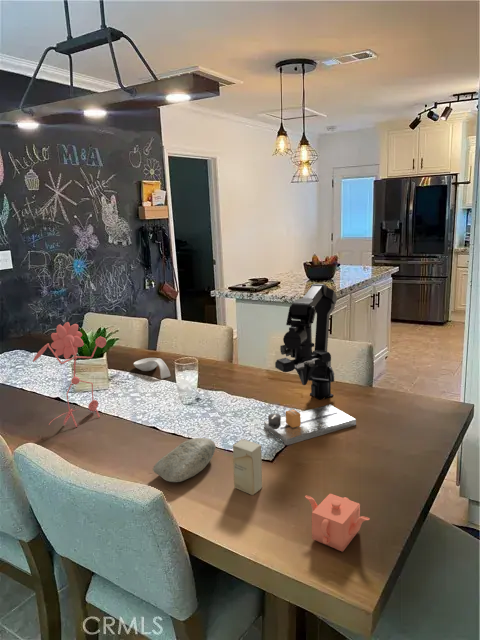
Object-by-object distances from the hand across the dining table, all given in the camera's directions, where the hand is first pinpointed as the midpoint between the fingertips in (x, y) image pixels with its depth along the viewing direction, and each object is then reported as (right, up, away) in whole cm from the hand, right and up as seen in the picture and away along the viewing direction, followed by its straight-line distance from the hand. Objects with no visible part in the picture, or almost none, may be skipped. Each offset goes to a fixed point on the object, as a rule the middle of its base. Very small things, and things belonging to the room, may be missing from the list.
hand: (304, 384), depth 160 cm
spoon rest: (-60, -2, +56) cm, 83 cm away
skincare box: (-19, -22, -37) cm, 47 cm away
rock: (-36, -20, -27) cm, 49 cm away
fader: (-4, -12, -8) cm, 14 cm away
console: (+1, -13, -4) cm, 14 cm away
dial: (-10, -11, -5) cm, 16 cm away
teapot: (-1, -26, -56) cm, 62 cm away
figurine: (-79, -14, +11) cm, 81 cm away
